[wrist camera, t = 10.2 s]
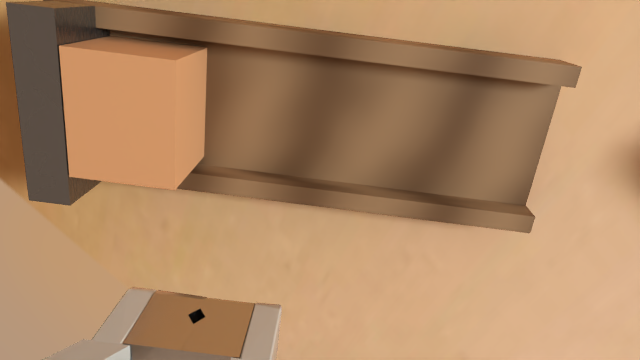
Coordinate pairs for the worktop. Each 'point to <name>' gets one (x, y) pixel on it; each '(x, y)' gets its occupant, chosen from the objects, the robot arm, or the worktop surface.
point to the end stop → (47, 92)
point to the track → (362, 118)
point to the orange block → (134, 110)
